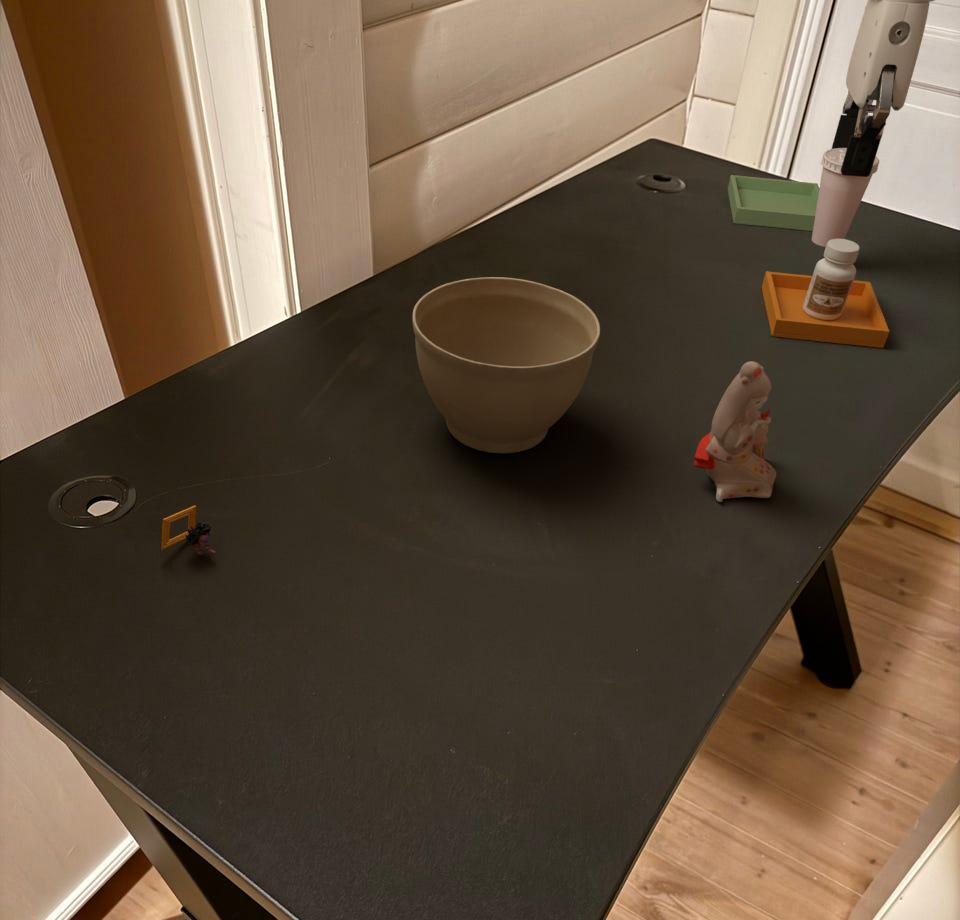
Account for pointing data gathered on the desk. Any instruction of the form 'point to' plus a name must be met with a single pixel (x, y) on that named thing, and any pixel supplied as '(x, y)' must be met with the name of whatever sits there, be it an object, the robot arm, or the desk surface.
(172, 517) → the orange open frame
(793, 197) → the sage tray
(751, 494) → the figurine
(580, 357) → the planter bowl
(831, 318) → the pill bottle
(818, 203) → the smoothie
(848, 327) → the amber tray
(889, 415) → the desk surface
